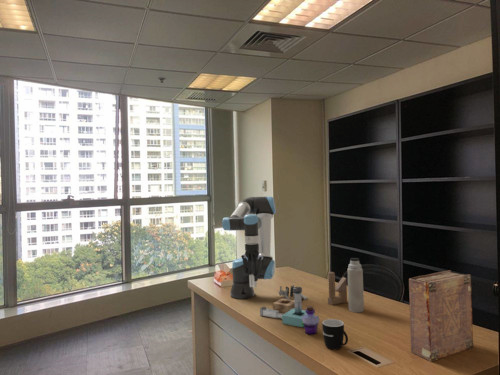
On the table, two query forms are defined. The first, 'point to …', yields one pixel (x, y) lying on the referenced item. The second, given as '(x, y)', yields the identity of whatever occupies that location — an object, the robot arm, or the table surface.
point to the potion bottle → (310, 321)
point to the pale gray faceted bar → (270, 313)
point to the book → (440, 314)
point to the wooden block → (337, 290)
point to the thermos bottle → (355, 286)
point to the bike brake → (286, 293)
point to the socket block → (293, 318)
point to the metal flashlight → (297, 300)
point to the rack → (283, 305)
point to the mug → (334, 333)
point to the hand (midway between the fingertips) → (253, 286)
